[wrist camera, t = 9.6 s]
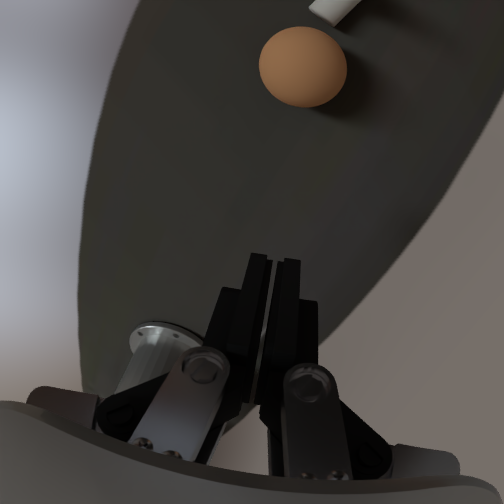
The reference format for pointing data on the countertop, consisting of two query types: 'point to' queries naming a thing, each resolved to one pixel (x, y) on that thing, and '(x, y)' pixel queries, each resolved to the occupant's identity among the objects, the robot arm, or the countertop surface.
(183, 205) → the countertop surface
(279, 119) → the countertop surface
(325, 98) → the ball
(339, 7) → the pin
